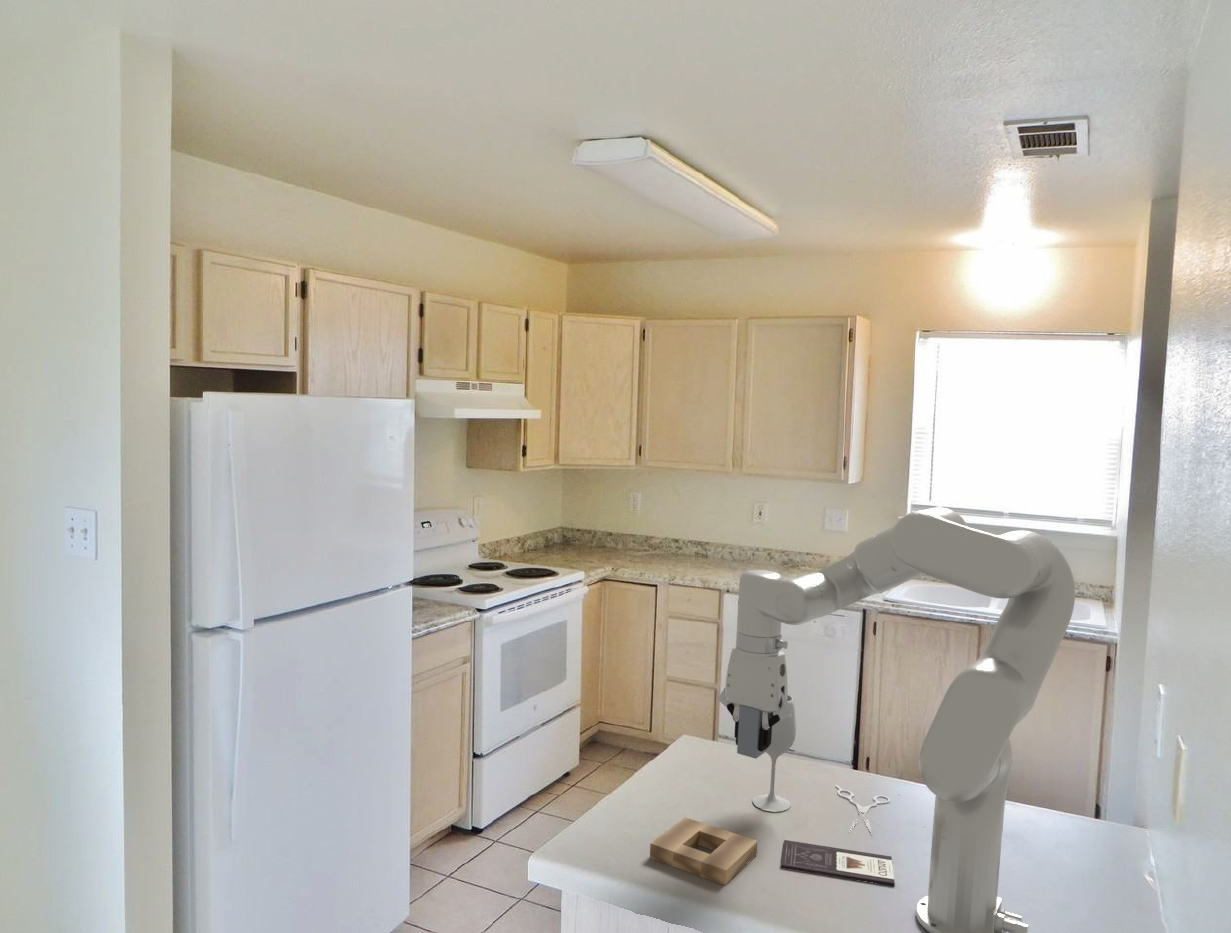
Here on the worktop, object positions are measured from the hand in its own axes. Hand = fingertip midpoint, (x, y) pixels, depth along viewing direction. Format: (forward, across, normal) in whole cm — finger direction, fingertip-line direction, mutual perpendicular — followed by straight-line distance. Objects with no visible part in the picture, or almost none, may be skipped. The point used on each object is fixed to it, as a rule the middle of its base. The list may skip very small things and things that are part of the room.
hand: (752, 744), depth 155 cm
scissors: (+18, -12, -25) cm, 33 cm away
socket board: (+17, +3, +10) cm, 20 cm away
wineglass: (+17, +3, -16) cm, 24 cm away
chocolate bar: (+18, -15, -2) cm, 24 cm away
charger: (+1, 0, 0) cm, 1 cm away
